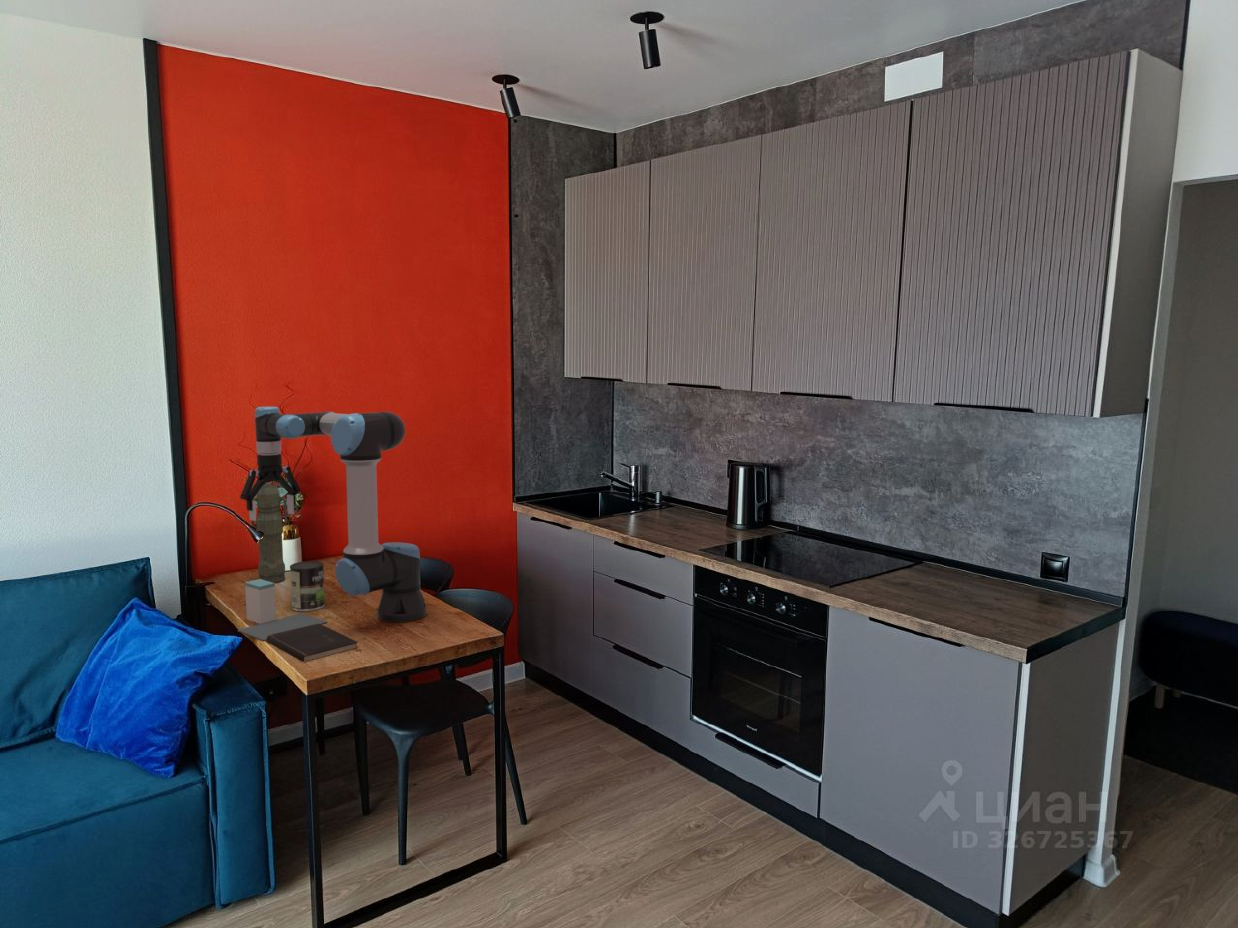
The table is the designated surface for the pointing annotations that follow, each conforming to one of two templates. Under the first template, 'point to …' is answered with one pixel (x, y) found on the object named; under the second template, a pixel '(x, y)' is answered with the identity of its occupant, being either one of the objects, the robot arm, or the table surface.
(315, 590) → the coffee can
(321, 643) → the hardcover book
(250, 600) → the slab
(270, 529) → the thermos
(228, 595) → the table surface
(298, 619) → the mat
